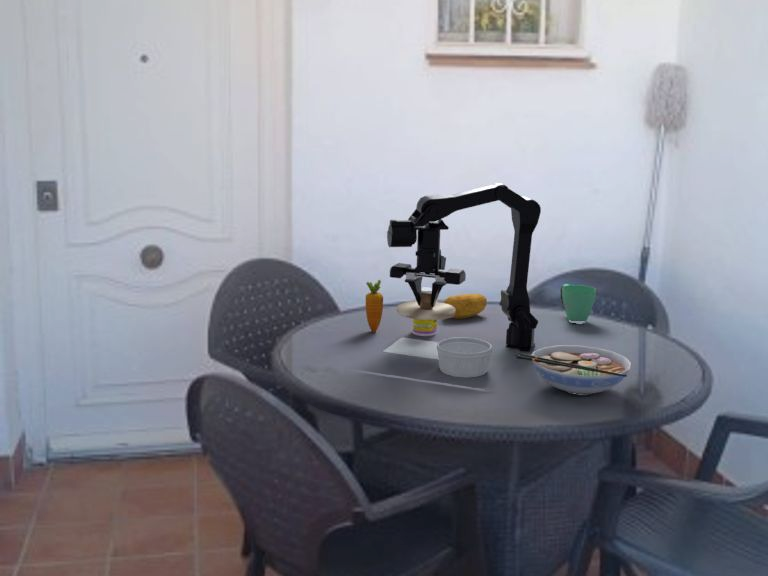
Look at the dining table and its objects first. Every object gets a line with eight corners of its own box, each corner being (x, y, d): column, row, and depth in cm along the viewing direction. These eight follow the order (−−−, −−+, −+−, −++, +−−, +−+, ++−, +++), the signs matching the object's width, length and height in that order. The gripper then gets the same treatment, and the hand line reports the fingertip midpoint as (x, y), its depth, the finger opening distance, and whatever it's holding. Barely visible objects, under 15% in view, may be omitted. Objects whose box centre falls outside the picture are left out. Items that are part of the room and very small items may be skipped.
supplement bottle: (436, 338, 251) (438, 292, 248) (412, 337, 251) (413, 291, 248) (435, 331, 258) (437, 286, 255) (412, 330, 258) (413, 285, 255)
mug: (600, 325, 267) (603, 292, 265) (570, 327, 265) (572, 293, 262) (575, 312, 281) (578, 280, 279) (546, 314, 278) (548, 282, 276)
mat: (465, 347, 243) (465, 346, 243) (449, 363, 231) (449, 361, 231) (401, 339, 250) (401, 337, 250) (382, 353, 237) (382, 351, 237)
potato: (491, 317, 273) (493, 294, 271) (450, 323, 266) (451, 299, 265) (478, 312, 279) (479, 289, 278) (437, 317, 273) (438, 293, 271)
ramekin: (446, 383, 216) (447, 354, 215) (428, 365, 229) (429, 338, 227) (499, 379, 220) (500, 351, 219) (478, 362, 232) (479, 335, 231)
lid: (462, 308, 242) (463, 290, 241) (444, 322, 228) (445, 303, 227) (408, 302, 247) (409, 283, 246) (388, 315, 234) (388, 296, 232)
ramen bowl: (645, 386, 217) (648, 353, 215) (616, 416, 198) (619, 380, 196) (545, 367, 229) (547, 335, 227) (508, 393, 210) (510, 359, 208)
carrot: (362, 334, 253) (363, 281, 249) (367, 329, 258) (368, 277, 254) (380, 336, 252) (381, 282, 248) (384, 331, 256) (385, 278, 253)
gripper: (473, 244, 238) (470, 303, 241) (404, 238, 244) (403, 295, 248) (460, 252, 228) (457, 313, 231) (389, 245, 234) (388, 305, 238)
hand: (426, 306), depth 237 cm, fingers closed on lid, 3 cm apart
